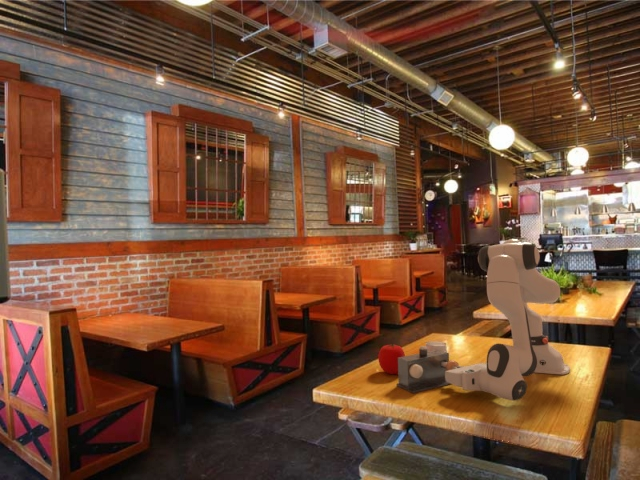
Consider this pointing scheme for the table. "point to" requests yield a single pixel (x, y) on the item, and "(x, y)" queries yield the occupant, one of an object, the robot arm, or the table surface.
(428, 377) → the mount
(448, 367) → the knob
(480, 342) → the table surface
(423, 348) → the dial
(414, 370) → the knob
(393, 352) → the tomato
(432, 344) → the cup
